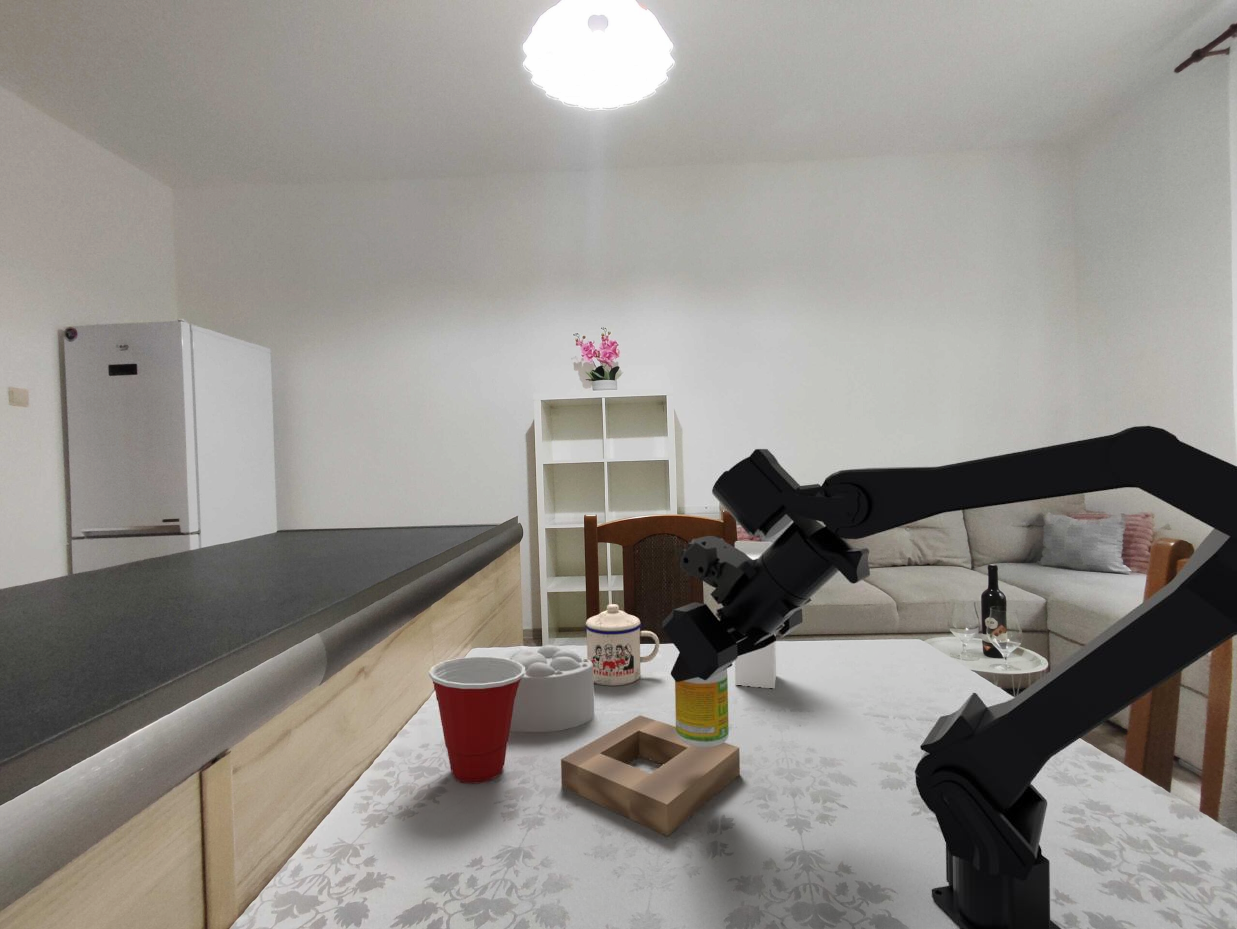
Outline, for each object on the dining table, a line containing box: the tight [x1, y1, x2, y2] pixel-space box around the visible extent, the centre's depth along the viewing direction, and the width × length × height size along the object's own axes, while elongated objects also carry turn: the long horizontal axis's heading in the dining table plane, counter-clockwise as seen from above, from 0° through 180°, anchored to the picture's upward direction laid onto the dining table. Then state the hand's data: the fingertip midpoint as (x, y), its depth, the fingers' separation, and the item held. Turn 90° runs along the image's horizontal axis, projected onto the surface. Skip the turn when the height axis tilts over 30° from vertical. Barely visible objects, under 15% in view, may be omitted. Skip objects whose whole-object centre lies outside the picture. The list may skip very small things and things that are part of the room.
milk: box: [734, 540, 777, 690], centre depth 95 cm, size 6×6×22 cm
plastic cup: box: [428, 656, 525, 784], centre depth 69 cm, size 11×11×12 cm
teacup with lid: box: [584, 603, 660, 687], centre depth 98 cm, size 12×9×12 cm
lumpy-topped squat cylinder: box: [505, 644, 595, 733], centre depth 84 cm, size 10×13×9 cm
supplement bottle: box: [674, 668, 730, 747], centre depth 62 cm, size 5×5×10 cm
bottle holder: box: [560, 714, 741, 837], centre depth 66 cm, size 14×14×3 cm
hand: (689, 669), depth 63 cm, fingers closed on supplement bottle, 5 cm apart
